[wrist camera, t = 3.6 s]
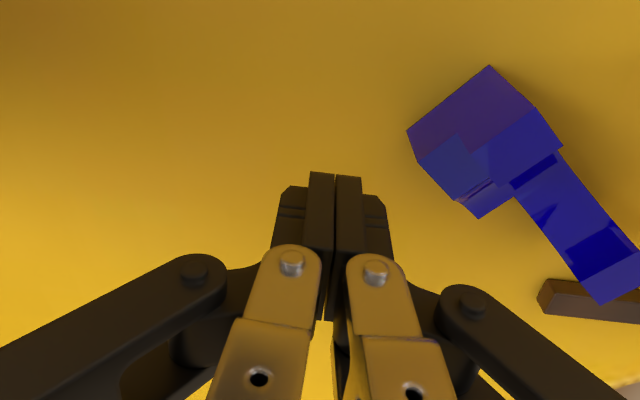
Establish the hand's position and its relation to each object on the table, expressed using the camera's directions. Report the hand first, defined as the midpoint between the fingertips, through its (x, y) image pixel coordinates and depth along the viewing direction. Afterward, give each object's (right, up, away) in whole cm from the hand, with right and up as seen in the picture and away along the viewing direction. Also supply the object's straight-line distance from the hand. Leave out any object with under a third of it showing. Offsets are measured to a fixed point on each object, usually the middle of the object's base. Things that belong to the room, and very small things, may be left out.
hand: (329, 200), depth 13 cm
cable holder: (+7, +1, +4) cm, 8 cm away
